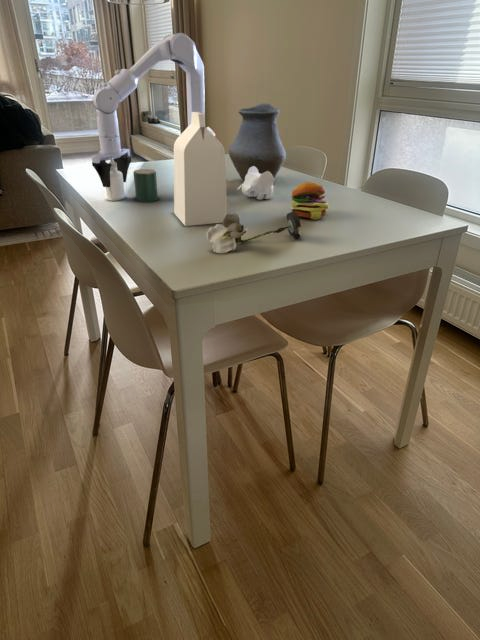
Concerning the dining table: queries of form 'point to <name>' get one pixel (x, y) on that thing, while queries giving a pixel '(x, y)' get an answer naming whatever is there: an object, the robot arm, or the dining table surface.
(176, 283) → the dining table surface
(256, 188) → the elephant figurine
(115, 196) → the eye dropper bottle
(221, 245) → the artificial flower
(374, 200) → the dining table surface
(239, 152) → the grey clay vase
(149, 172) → the green tin can
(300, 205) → the cheeseburger
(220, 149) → the milk
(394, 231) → the dining table surface
